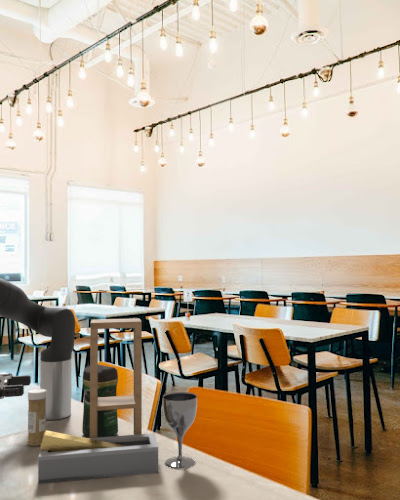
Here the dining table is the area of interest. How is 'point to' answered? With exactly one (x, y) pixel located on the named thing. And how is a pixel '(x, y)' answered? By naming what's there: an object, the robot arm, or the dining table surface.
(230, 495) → the dining table surface
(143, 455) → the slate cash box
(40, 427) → the sprinkles bottle
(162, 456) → the dining table surface
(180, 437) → the wine glass
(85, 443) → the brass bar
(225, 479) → the dining table surface
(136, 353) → the walnut stand
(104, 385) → the coffee jar
